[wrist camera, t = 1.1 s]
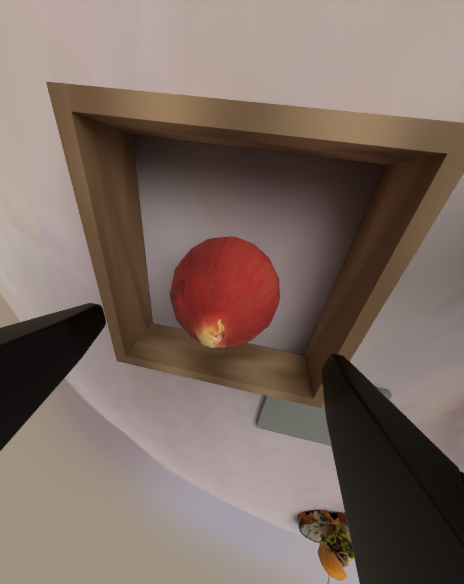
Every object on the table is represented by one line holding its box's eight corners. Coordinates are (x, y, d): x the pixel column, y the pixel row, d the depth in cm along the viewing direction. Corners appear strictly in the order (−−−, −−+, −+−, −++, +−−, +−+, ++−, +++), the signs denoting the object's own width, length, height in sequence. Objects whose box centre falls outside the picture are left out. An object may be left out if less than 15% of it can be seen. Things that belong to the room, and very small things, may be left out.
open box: (411, 147, 10) (492, 125, 6) (310, 363, 17) (321, 408, 14) (116, 114, 11) (46, 81, 7) (145, 328, 19) (117, 361, 15)
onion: (222, 310, 16) (187, 404, 9) (182, 250, 14) (98, 311, 7) (289, 283, 14) (309, 379, 7) (253, 208, 12) (232, 238, 5)
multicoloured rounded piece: (345, 538, 37) (362, 613, 31) (286, 518, 37) (290, 588, 31) (387, 524, 31) (419, 613, 25) (317, 500, 31) (330, 582, 25)
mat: (389, 390, 17) (391, 395, 17) (343, 444, 22) (345, 449, 22) (276, 365, 18) (276, 370, 18) (256, 422, 23) (256, 427, 23)
